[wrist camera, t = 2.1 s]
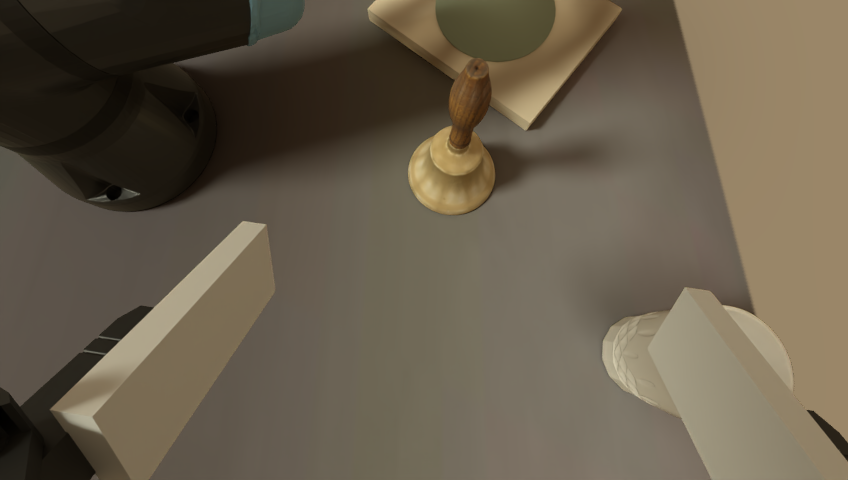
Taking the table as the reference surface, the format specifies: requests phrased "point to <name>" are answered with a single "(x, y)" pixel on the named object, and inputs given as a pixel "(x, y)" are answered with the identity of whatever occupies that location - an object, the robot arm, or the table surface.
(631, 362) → the white cup
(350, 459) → the table surface
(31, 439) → the robot arm
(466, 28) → the bell board
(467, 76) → the hand bell
